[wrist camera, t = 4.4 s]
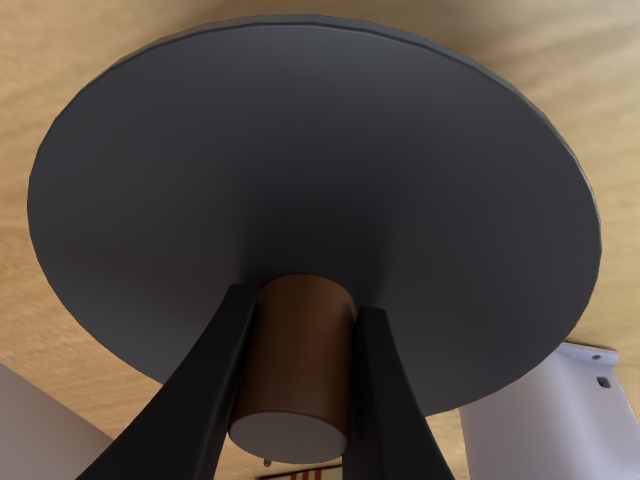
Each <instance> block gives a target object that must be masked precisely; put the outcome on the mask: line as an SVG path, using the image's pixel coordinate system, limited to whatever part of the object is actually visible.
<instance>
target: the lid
mask: <svg viewBox="0 0 640 480" xmlns="http://www.w3.org/2000/svg"><path fill="white" fill-rule="evenodd" d="M27 213H28V222H29V231H30V236H31V240H32V243H33V246H34V250H35V253H36V257H37V260H38V262H39V264H40V266H41V268H42V270H43V272H44V274H45V276H46V279H47V281H48V283H49V284H50V286H51V287H52V289H53V290H54V292H55V293H56V295H57V296H58V298H59V299H60V301H61V302H62V304H63V305H64V306H65V308H66V309H67V310H68V311H69V312H70V314H71V315H72V316H73V317H74V318H75V319H76V321H77V322H78V323H79V324H80V325H81V326H82V327H83V328H84V329H85V330H86V331H87V332H88V333H89V334H90V335H91V336H92V337H94V338H95V339H96V340H97V341H98V342H99V343H100V344H101V345H103V346H104V347H105V348H107V349H108V350H109V351H110V352H112V353H113V354H114V355H115V356H117V357H118V358H119V359H121V360H122V361H124V362H125V363H127V364H129V365H130V366H132V367H133V368H135V369H136V370H138V371H139V372H141V373H143V374H145V375H146V376H148V377H150V378H152V379H154V380H155V381H157V382H159V383H161V384H163V385H164V384H165V383H166V381H167V380H168V379H169V378H170V376H171V375H172V374H173V372H174V371H175V370H176V369H177V367H178V366H179V365H180V364H181V362H182V361H183V360H184V358H185V357H186V356H187V354H188V353H189V351H190V350H191V349H192V347H193V346H194V344H195V343H196V341H197V340H198V339H199V337H200V336H201V334H202V333H203V331H204V330H205V328H206V327H207V325H208V324H209V322H210V321H211V319H212V317H213V316H214V314H215V313H216V311H217V309H218V307H219V306H220V304H221V302H222V300H223V298H224V297H225V295H226V293H227V290H228V288H229V286H230V285H232V284H240V285H246V286H252V287H258V297H257V306H256V310H255V315H254V319H253V323H252V327H251V332H250V336H249V340H248V343H247V347H246V350H245V354H244V359H243V363H242V367H241V371H240V375H239V380H238V384H237V388H236V392H235V397H234V401H233V405H232V409H231V414H230V418H229V422H228V427H227V429H228V434H229V437H230V439H231V440H232V441H233V442H234V443H235V444H236V445H237V446H238V447H240V448H241V449H243V450H244V451H246V452H248V453H250V454H253V455H255V456H258V457H261V458H264V459H267V460H271V461H276V462H281V463H289V464H314V463H322V462H326V461H330V460H333V459H336V458H338V457H340V456H342V455H343V454H344V453H345V452H346V451H347V450H348V449H349V446H350V444H351V424H352V387H353V351H354V323H355V320H356V318H357V315H358V312H359V309H360V307H361V305H364V306H370V307H375V308H381V309H385V310H386V311H387V313H388V316H389V320H390V324H391V327H392V331H393V334H394V337H395V341H396V344H397V347H398V350H399V353H400V356H401V359H402V362H403V364H404V367H405V370H406V373H407V375H408V378H409V380H410V383H411V385H412V388H413V391H414V393H415V396H416V398H417V401H418V403H419V405H420V408H421V410H422V412H423V415H424V417H427V416H431V415H434V414H438V413H442V412H446V411H449V410H453V409H455V408H458V407H461V406H464V405H467V404H470V403H472V402H475V401H477V400H479V399H482V398H484V397H486V396H488V395H491V394H493V393H495V392H497V391H499V390H501V389H502V388H504V387H506V386H508V385H510V384H511V383H513V382H515V381H517V380H518V379H520V378H521V377H523V376H524V375H525V374H527V373H528V372H530V371H531V370H532V369H534V368H535V367H537V366H538V365H539V364H540V363H542V362H543V361H544V360H545V359H546V358H547V357H548V356H549V355H550V354H551V353H552V352H553V351H555V350H556V349H557V348H558V347H559V346H560V344H561V343H562V342H563V341H564V340H565V338H566V337H567V336H568V335H569V333H570V332H571V331H572V330H573V329H574V327H575V326H576V324H577V322H578V321H579V319H580V317H581V316H582V314H583V312H584V311H585V309H586V307H587V305H588V303H589V300H590V298H591V295H592V292H593V290H594V287H595V284H596V282H597V278H598V272H599V266H600V259H601V253H602V243H601V222H600V217H599V213H598V209H597V206H596V202H595V198H594V194H593V191H592V188H591V186H590V184H589V182H588V180H587V178H586V176H585V174H584V172H583V170H582V168H581V166H580V164H579V162H578V160H577V158H576V156H575V154H574V153H573V151H572V150H571V148H570V147H569V145H568V144H567V143H566V141H565V140H564V139H563V137H562V136H561V135H560V133H559V132H558V131H557V130H556V128H555V127H554V126H553V124H552V123H551V122H550V121H549V119H548V118H547V117H546V115H545V114H544V113H543V112H542V111H541V110H539V109H538V108H537V107H536V106H535V105H534V104H533V103H532V102H531V101H529V100H528V99H527V98H526V97H525V96H524V95H523V94H522V93H521V92H520V91H518V90H517V89H516V88H515V87H514V86H513V85H512V84H510V83H509V82H507V81H506V80H504V79H503V78H501V77H499V76H498V75H496V74H495V73H493V72H492V71H490V70H489V69H487V68H485V67H484V66H482V65H481V64H479V63H478V62H476V61H475V60H473V59H471V58H470V57H467V56H465V55H463V54H461V53H458V52H456V51H454V50H452V49H449V48H447V47H445V46H443V45H440V44H438V43H436V42H434V41H431V40H429V39H427V38H425V37H422V36H419V35H415V34H412V33H408V32H404V31H401V30H397V29H394V28H390V27H387V26H383V25H379V24H376V23H372V22H368V21H360V20H353V19H345V18H338V17H330V16H322V15H315V14H306V15H256V16H249V17H243V18H237V19H230V20H224V21H218V22H211V23H206V24H203V25H200V26H197V27H194V28H190V29H187V30H184V31H181V32H178V33H175V34H172V35H168V36H165V37H162V38H160V39H158V40H156V41H154V42H152V43H150V44H148V45H146V46H144V47H142V48H140V49H138V50H136V51H134V52H132V53H130V54H128V55H126V56H124V57H123V58H121V59H119V60H118V61H117V62H115V63H114V64H113V65H111V66H110V67H109V68H108V69H106V70H105V71H104V72H102V73H101V74H100V75H98V76H97V77H96V78H94V79H93V80H92V81H91V82H89V83H88V84H87V85H86V86H85V87H84V88H82V89H81V90H80V91H79V92H78V93H77V94H76V96H75V97H74V98H73V99H72V100H71V101H70V102H69V104H68V105H67V106H66V107H65V108H64V109H63V110H62V111H61V113H60V114H59V115H58V116H57V117H56V118H55V120H54V121H53V123H52V125H51V127H50V128H49V130H48V132H47V134H46V136H45V137H44V139H43V141H42V143H41V144H40V146H39V148H38V151H37V154H36V158H35V161H34V164H33V167H32V171H31V174H30V177H29V188H28V199H27Z"/></svg>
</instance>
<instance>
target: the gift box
mask: <svg viewBox="0 0 640 480" xmlns="http://www.w3.org/2000/svg"><path fill="white" fill-rule="evenodd" d="M262 480H342V466H339V467H333V468H327V469H320V470H313V471H307V472H302V473H296V474H292V475H286V476H280V477H273V478H267V479H262Z"/></svg>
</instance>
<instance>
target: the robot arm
mask: <svg viewBox="0 0 640 480" xmlns="http://www.w3.org/2000/svg"><path fill="white" fill-rule="evenodd" d="M257 297H258V287H252V286H246V285H240V284H232V285H230V286H229V288H228V290H227V293H226V295H225V297H224V298H223V300H222V302H221V304H220V306H219V307H218V309H217V311H216V313H215V314H214V316H213V317H212V319H211V321H210V322H209V324H208V325H207V327H206V328H205V330H204V331H203V333H202V334H201V336H200V337H199V339H198V340H197V341H196V343H195V344H194V346H193V347H192V349H191V350H190V351H189V353H188V354H187V356H186V357H185V358H184V360H183V361H182V362H181V364H180V365H179V366H178V367H177V369H176V370H175V371H174V372H173V374H172V375H171V376H170V378H169V379H168V380H167V381H166V383H165V384H164V385H163V386H162V388H161V389H160V390H159V391H158V393H157V394H156V395H155V396H154V397H153V398H152V400H151V401H150V402H149V403H148V404H147V405H146V407H145V408H144V409H143V410H142V411H141V412H140V413H139V415H138V416H137V417H136V418H135V419H134V420H133V421H132V422H131V423H130V425H129V426H128V427H127V428H126V429H125V430H124V431H123V432H122V433H121V434H120V435H119V436H118V437H117V438H116V439H115V440H114V441H113V442H112V444H111V445H110V446H109V447H108V448H107V449H106V450H105V451H104V452H103V453H102V454H101V455H100V456H99V457H98V458H97V459H96V460H95V461H94V462H93V463H92V464H91V465H90V466H89V467H88V468H87V469H86V470H85V471H84V472H83V473H82V474H81V475H80V476H78V477H77V478H76V479H75V480H213V479H214V475H215V471H216V467H217V464H218V460H219V456H220V453H221V450H222V447H223V444H224V440H225V437H226V434H227V431H228V429H227V427H228V422H229V418H230V414H231V409H232V405H233V401H234V397H235V392H236V388H237V384H238V380H239V375H240V371H241V367H242V363H243V359H244V354H245V350H246V347H247V343H248V340H249V336H250V332H251V327H252V323H253V319H254V315H255V310H256V306H257ZM619 359H620V357H619V355H618V353H617V352H616V351H612V350H606V349H601V348H595V347H589V346H583V345H578V344H572V343H566V342H562V343H561V344H560V346H559V347H558V348H557V349H556V350H555V351H553V352H552V353H551V354H550V355H549V356H548V357H547V358H546V359H545V360H544V361H543V362H542V363H540V364H539V365H538V366H537V367H535V368H534V369H532V370H531V371H530V372H528V373H527V374H525V375H524V376H523V377H521V378H520V379H518V380H517V381H515V382H513V383H511V384H510V385H508V386H506V387H504V388H502V389H501V390H499V391H497V392H495V393H493V394H491V395H488V396H486V397H484V398H482V399H479V400H477V401H475V402H472V403H470V404H467V405H464V406H461V407H459V411H460V417H461V423H462V430H463V436H464V442H465V449H466V455H467V461H468V468H469V474H470V480H640V425H639V423H638V421H637V419H636V417H635V414H634V412H633V410H632V408H631V406H630V403H629V401H628V399H627V397H626V395H625V393H624V390H623V388H622V386H621V384H620V382H619V379H618V377H617V375H616V373H615V371H614V369H613V365H614V364H615V363H616V362H618V360H619ZM342 480H455V478H454V476H453V474H452V472H451V471H450V469H449V467H448V465H447V463H446V461H445V459H444V457H443V455H442V453H441V451H440V449H439V447H438V445H437V443H436V441H435V439H434V437H433V435H432V432H431V430H430V428H429V426H428V424H427V421H426V419H425V417H424V415H423V412H422V410H421V408H420V405H419V403H418V401H417V398H416V396H415V393H414V391H413V388H412V385H411V383H410V380H409V378H408V375H407V373H406V370H405V367H404V364H403V362H402V359H401V356H400V353H399V350H398V347H397V344H396V341H395V337H394V334H393V331H392V327H391V324H390V320H389V316H388V313H387V311H386V310H385V309H381V308H375V307H370V306H364V305H361V307H360V309H359V312H358V315H357V318H356V320H355V323H354V351H353V387H352V424H351V444H350V446H349V449H348V450H347V451H346V452H345V453H344V454H343V455H342Z"/></svg>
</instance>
